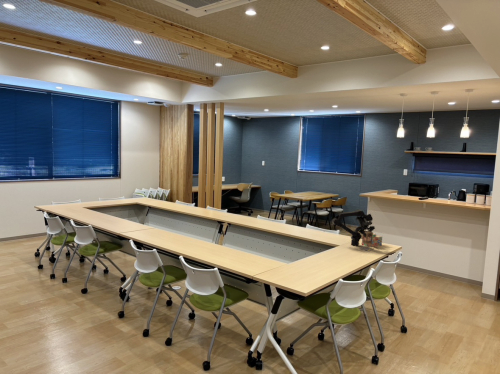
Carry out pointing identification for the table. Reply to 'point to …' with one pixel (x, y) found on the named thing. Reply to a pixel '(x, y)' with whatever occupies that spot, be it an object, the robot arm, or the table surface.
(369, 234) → the open wooden box
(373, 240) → the stack of blocks
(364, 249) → the dock
